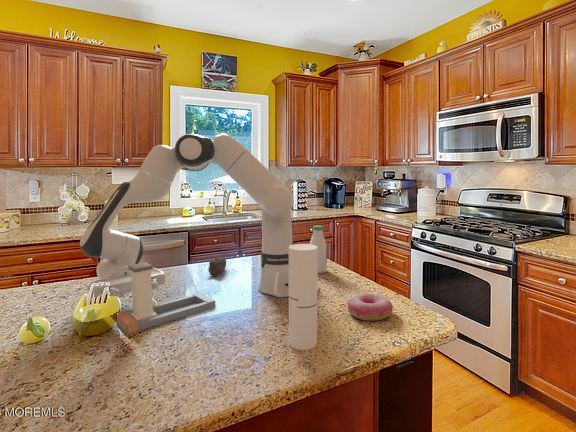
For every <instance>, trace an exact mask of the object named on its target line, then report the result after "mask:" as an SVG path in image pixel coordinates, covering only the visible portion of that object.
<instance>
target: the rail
mask: <svg viewBox="0 0 576 432" xmlns="http://www.w3.org/2000/svg"><path fill="white" fill-rule="evenodd" d="M155 305H156V306H155V307H153V308H154V309H155V313H157V316H156V317H152V318H149V319H145V320H142V321H139V322H137V321H136V320H135V319H134V318H133V317H132V316H130V313H133V310H132V311H128V312H127V311H126V310H122V311H119V314H118V315H117V316H118V317H117V320H115V322H116V328H117V329H118V330H119V331H121V333H122V334H123V335H124V336H125V337H126V338H127V339H128V340H132V339H133V337H132V336H131V335H130V334H132V333H136V332H139V331H142V330H146V329H149V328H152V327H156V326H159V325H162V324H164V323H168V322H172V321H174V320H177V319H180V318H184V317H188V316H190V315H193V314H197V313H200V312H203V311H207V310H210V309H213V308H216V300H215V299H214V298H211V297H209V296H207V295H206V294H204V293H201V292H195V293H192V294H191V295H188V296H184V297H180V298H176V299H172V300H169V301H165V302H162V303H158V304H155Z"/></svg>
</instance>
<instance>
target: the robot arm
mask: <svg viewBox="0 0 576 432" xmlns="http://www.w3.org/2000/svg"><path fill="white" fill-rule="evenodd" d="M210 163H211V164H215V165H216V166H218V167H219V168H220V169H221V170H222V171H224V173H226V174H227V175H228V176H229V177H230V178H231V179H232V180H233V181H234V182H235V183H237V184H238V185H239V187H241V188H242V189H243V191H244V192H246V193H247V194H248V196H250V198H252V199H253V200H254V201H255V203H257V205H259V206H260V208H261V210H260V211H261V249H262V250H261V252H260V266H261V274H260V280H259V285H258V288H257V289H258V291H259V292H261V293H263V294H265V295H271V296H273V297H276V298H286V297H287V298H288V297H289V246H290V245H293V228H292V209H293V206H294V201H295V200H294V196H293V192H292V191H291V189H290V188H288V186H286V185H285V184H284V182H282V181H281V180H280V179H279V178H278V177H277V176H276V175H275V174H274V173H273V172H271V171H270V170H269V169H268V168H267V167H266V166H265V165H264V164H263V163H262V162H261V161H259V160H258V158H257V157H255V156H254V155H253V154H252V153H251V152H250V151H249V150H248V149H247V148H246V147H245V146H244V145H243V144H241V143H240V142H239V141H238V140H237V139H234V137H232V136H231V135H229V134H227V133H220V134H217V135H216V136H214V137H213V138H212V139H211V138H210V137H206V136H202V135H199V134H195V133H186V134H184V135H182V136H180V137H179V138H178V139H177V141H176V143H175V145H174V147H170V146H168V145H165V144H157V145H155V146H153V147H152V148H151V150H150V151H149V153H148V154H147V155H146V157H145V159H144V160H143V162H142V164H141V166H140V168H139V170H138V172H137V174H136V175H135V176H134V177H133V178H132V179H130V181H124V182H122V183H121V184H120V185H118V187H117V188H116V189H115V191H114V192H113V193H112V195H111V196H110V197H109V199H108V200H107V201H106V203H105V204H104V206H103V207H102V209H101V210H100V212H99V213H98V215H97V216H96V217H95V219H94V220H93V222H91V224H90V225H89V226H88V227H87V228H86V230H85V231H84V232H83V234H82V235H81V237H80V241H79V246H78V247H80V250H81V251H82V253H83V255H85V256H86V257H89V258H97V259H99V258H100V259H101V260H100V261H99V262H98V264H97V266H96V275H97V277H98V280H94V281H92V282H91V284H89V285H87V286H86V289H87V290H88V291H89V290H90V287H91V285H92V284H93V283H99V282H110V286H107V285H102V286H94V287H93V293H94V297H98V296H99V295H100V294H101V292H102V291H103V290H104V288H105V287H109V292H110V296H111V297H117V298H122V297H125V294H128V293H132V283H131V270H129V268H128V265H134V264H139V263H141V261H142V259H143V255H144V245H143V241H142V240H141V238H140V237H139V236H137V235H133V234H130V233H126V232H123V231H117V230H114V229H111V228H110V227H111V225H112V224H113V222H114V220H115V219H116V218H117V216H118V215H119V213H120V212H121V210H122V209H123V208H124V207H125V206H127V205H130V204H137V203H154V202H158V201H160V200H162V199H163V198H165V197H166V196H167V194H169V190H170V188H171V187H172V184H173V181H175V180H174V179H175V177H176V176H177V174H178V172H179V171H181V170H184V171H190V172H199V171H203V170H205V169H206V168H207V167H208V166H209V164H210ZM151 284H152V290H155V289H158V288H159V286H162V285H163V286H164V285H165V284H166V274H165V272H164V271H162V269H161V270H160V269H158V268H156V267H153V269H151ZM319 291H320V287H319V284H318V283H317V293H318V292H319ZM94 297H93V298H94Z"/></svg>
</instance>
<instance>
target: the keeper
mask: <svg viewBox="0 0 576 432" xmlns="http://www.w3.org/2000/svg"><path fill="white" fill-rule="evenodd" d="M128 268H129V270H131V283H132V292H131V295H132V309H133V310H132V311H133V313H130V316H132V317H133V318H134V319H135V320H136V321H137V322H139V321H142V320H145V319H149V318H152V317H156V316H157V313H155V312H154V311H153V306H154V303H153V289H152V284H151V269H153V268H154V267H153V265H152V264H150V263H148V262H146V261H145V262H139V264H134V265H128Z"/></svg>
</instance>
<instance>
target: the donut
mask: <svg viewBox="0 0 576 432" xmlns="http://www.w3.org/2000/svg"><path fill="white" fill-rule="evenodd" d="M393 309H394V307H393V304H392V302H391V301H390V299H388V298H387V297H385V296H383V295H379V294H377V293H376V294H375V293H359V294H355V295H353V296H351V297H350V298H349V300H348V302H347V310H348V312H349V314H350V315H352V316H353V317H355V318H356V319H358V320H363V321H369V322H372V321H373V322H374V321H377V322H378V321H382V320H384V319H386V318H388V317H389V316H390V315H391V314H392V312H393Z"/></svg>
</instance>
